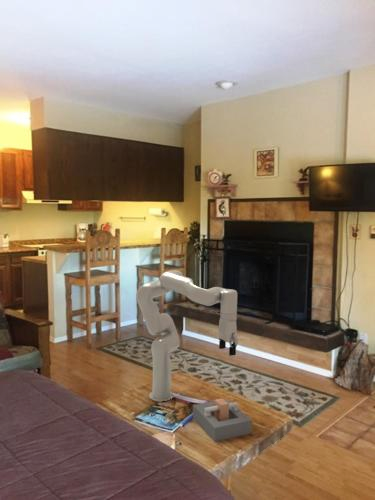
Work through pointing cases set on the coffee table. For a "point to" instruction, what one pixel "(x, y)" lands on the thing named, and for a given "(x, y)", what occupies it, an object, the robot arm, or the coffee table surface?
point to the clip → (221, 410)
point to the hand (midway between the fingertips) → (227, 351)
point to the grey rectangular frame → (222, 429)
